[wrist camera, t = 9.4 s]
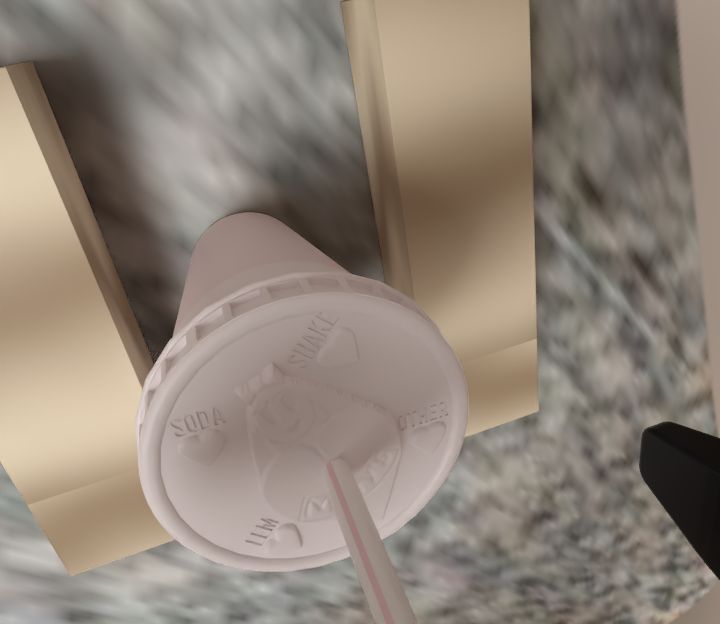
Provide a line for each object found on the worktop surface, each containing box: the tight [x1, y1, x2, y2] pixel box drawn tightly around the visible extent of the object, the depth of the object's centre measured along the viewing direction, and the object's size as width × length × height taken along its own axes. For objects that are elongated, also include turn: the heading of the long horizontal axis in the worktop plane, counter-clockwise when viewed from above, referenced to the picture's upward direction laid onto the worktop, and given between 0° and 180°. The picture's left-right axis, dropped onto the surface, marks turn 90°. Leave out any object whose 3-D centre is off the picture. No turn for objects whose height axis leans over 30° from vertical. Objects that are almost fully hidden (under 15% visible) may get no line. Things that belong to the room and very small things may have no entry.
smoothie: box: [135, 212, 469, 624], centre depth 13 cm, size 6×6×14 cm
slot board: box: [0, 0, 539, 576], centre depth 18 cm, size 14×17×3 cm
